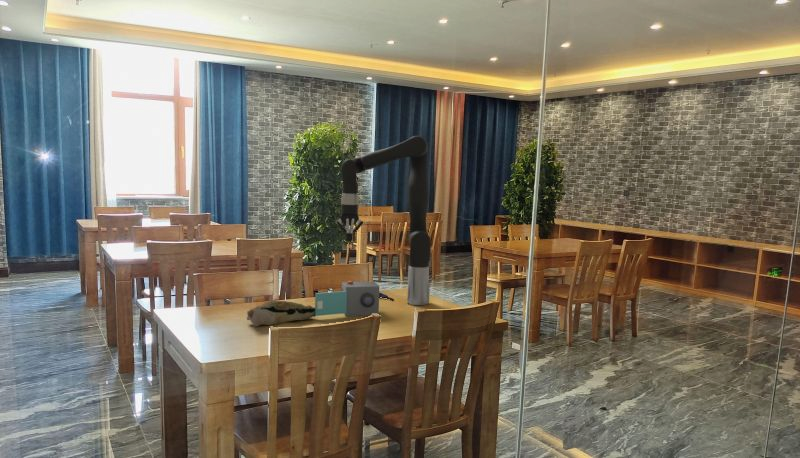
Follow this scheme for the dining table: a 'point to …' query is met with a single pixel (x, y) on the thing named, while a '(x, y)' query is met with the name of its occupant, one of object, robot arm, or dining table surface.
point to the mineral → (279, 312)
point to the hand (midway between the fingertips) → (349, 241)
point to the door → (330, 303)
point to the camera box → (361, 298)
